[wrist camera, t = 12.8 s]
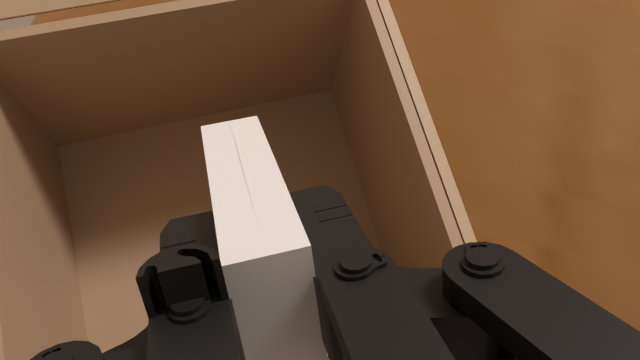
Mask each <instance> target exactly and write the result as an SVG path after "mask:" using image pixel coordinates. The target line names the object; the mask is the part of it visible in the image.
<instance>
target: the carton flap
mask: <svg viewBox="0 0 640 360" xmlns="http://www.w3.org/2000/svg"><path fill="white" fill-rule="evenodd" d="M114 1H120V0H0V20H6V19H12V18H17V17H24V16H30V15H36V14H42V13H48V12H54V11H60V10H66V9H72V8H78V7H84V6H90V5H96V4H102V3H108V2H114Z"/></svg>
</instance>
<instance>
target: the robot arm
mask: <svg viewBox="0 0 640 360" xmlns="http://www.w3.org/2000/svg"><path fill="white" fill-rule="evenodd" d="M201 132H202V139H203V146H204V153H205V160H206V167H207V174H208V180H209V187H210V194H211V201H212V208H213V211H208V212H203V213H199V214H194V215H189V216H185V217H180V218H176V219H171V220H169V222H168V223H167V224H166V226H165V227H164V229H163V230H162V232H161V233H160V251H159V253H157V254H156V255H154V256H152V257H150V258H149V259H148V260H147V261H146V262H145V263H144V264H143V265H142V266H141V267H140V268H139V270H138V272H137V275H136V277H135V279H136V282H137V285H138V288H139V291H140V294H141V297H142V300H143V303H144V306H145V309H146V312H147V316H148V319H149V320H148V326H147V327H146V328H145V329H144V330H142V331H141V332H140V333H139V334H137V335H136V336H135V337H133V338H131V339H130V340H128V341H126V342H124V343H122V344H120V345H118V346H116V347H114V348H112V349H110V350H108V351H106V352H103V353H102V352H101V350H100V348H99V346H97V345H95V344H93V343H91V342H89V341H77V340H74V341H69V342H65V343H60V344H57V345H54V346H52V347H50V348H48V349H46V350H43V351H41V352H39V353H38V354H37V355H35V356H34V357H33V358H31V359H30V360H328V358H327V354H328V357H329V360H640V332H639V331H638V330H636V329H635V328H633V327H632V326H630V325H628V324H627V323H625V322H624V321H622V320H621V319H619V318H617V317H616V316H614V315H613V314H611V313H610V312H608V311H607V310H605V309H603V308H602V307H600V306H599V305H597V304H596V303H594V302H592V301H591V300H589V299H588V298H586V297H585V296H583V295H582V294H580V293H578V292H577V291H575V290H574V289H572V288H571V287H569V286H567V285H566V284H564V283H563V282H561V281H560V280H558V279H557V278H555V277H553V276H552V275H550V274H549V273H547V272H546V271H544V270H542V269H541V268H539V267H538V266H536V265H535V264H533V263H532V262H530V261H528V260H527V259H525V258H524V257H522V256H521V255H519V254H518V253H516V252H514V251H513V250H511V249H508V248H506V247H504V246H502V245H499V244H493V243H488V242H469V243H466V244H462V245H458V246H456V247H454V248H453V249H451V250H450V251H448V252H447V253H446V255H445V256H444V258H443V260H442V268H406V267H401V266H397V265H396V264H395V262H394V260H393V259H392V258H391V257H390V256H389V255H388V254H387V253H386V252H383V251H381V250H378V249H376V248H373V247H372V245H371V244H370V242H369V240H368V238H367V237H366V235H365V233H364V232H363V230H362V228H361V227H360V225H359V223H358V222H357V220H356V218H355V217H354V216H353V213H352V211H351V210H350V208H349V207H348V205H347V203H346V201H345V200H344V198H343V196H342V195H341V193H340V192H338V191H336V190H334V189H333V188H331V187H329V186H327V185H321V186H317V187H312V188H307V189H303V190H298V191H293V192H289V191H288V189H287V186H286V184H285V182H284V179H283V177H282V174H281V172H280V170H279V167H278V165H277V162H276V160H275V158H274V155H273V153H272V150H271V148H270V146H269V143H268V141H267V138H266V136H265V134H264V131H263V129H262V126H261V124H260V122H259V119H258V117H257V116H252V117H247V118H242V119H236V120H231V121H226V122H221V123H215V124H210V125H205V126H201Z"/></svg>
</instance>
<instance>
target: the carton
mask: <svg viewBox="0 0 640 360" xmlns="http://www.w3.org/2000/svg"><path fill="white" fill-rule="evenodd" d="M252 116H257V117H258V119H259V122H260V124H261V126H262V129H263V131H264V134H265V136H266V138H267V141H268V143H269V146H270V148H271V150H272V153H273V155H274V158H275V160H276V162H277V165H278V167H279V170H280V172H281V174H282V177H283V179H284V182H285V184H286V186H287V189H288V191H289V192H293V191H298V190H303V189H307V188H312V187H317V186H321V185H327V186H329V187H331V188H333V189H334V190H336V191H338V192H340V193H341V195H342V196H343V198H344V200H345V201H346V203H347V205H348V207H349V208H350V210H351V211H352V213H353V216H354V217H355V218H356V220H357V222H358V223H359V225H360V227H361V228H362V230H363V232H364V233H365V235H366V237H367V238H368V240H369V242H370V244H371V245H372V247H373V248H376V249H378V250H381V251H383V252H386V253H387V254H388V255H389V256H390V257H391V258H392V259H393V260H394V262H395V264H396V265H397V266H401V267H406V268H442V260H443V258H444V256H445V255H446V253H447V252H448V251H450V250H451V249H453V248H454V247H456V246H458V245H462V244H466V243H469V242H477V241H476V238H475V235H474V233H473V230H472V227H471V224H470V222H469V219H468V216H467V214H466V211H465V208H464V205H463V203H462V200H461V197H460V194H459V192H458V189H457V186H456V183H455V181H454V178H453V175H452V173H451V170H450V167H449V164H448V162H447V159H446V156H445V153H444V151H443V148H442V145H441V143H440V140H439V137H438V134H437V132H436V129H435V126H434V123H433V121H432V118H431V115H430V112H429V110H428V107H427V104H426V102H425V99H424V96H423V93H422V91H421V88H420V85H419V82H418V80H417V77H416V74H415V72H414V69H413V66H412V63H411V61H410V58H409V55H408V52H407V50H406V47H405V44H404V41H403V39H402V36H401V33H400V31H399V28H398V25H397V22H396V20H395V17H394V14H393V11H392V9H391V6H390V3H389V1H388V0H178V1H172V2H167V3H161V4H155V5H149V6H143V7H137V8H131V9H125V10H119V11H113V12H107V13H101V14H95V15H90V16H84V17H78V18H72V19H66V20H60V21H54V22H48V23H42V24H36V25H30V26H24V27H19V28H13V29H7V30H1V31H0V360H30V359H31V358H33V357H34V356H35V355H37V354H38V353H39V352H41V351H43V350H46V349H48V348H50V347H52V346H54V345H57V344H60V343H65V342H69V341H74V340H77V341H89V342H91V343H93V344H95V345H97V346H99V348H100V350H101V352H102V353H103V352H106V351H108V350H110V349H112V348H114V347H116V346H118V345H120V344H122V343H124V342H126V341H128V340H130V339H131V338H133V337H135V336H136V335H137V334H139V333H140V332H141V331H142V330H144V329H145V328H146V327H147V326H148V320H149V319H148V316H147V312H146V309H145V306H144V303H143V300H142V297H141V294H140V291H139V288H138V285H137V282H136V279H135V277H136V275H137V272H138V270H139V268H140V267H141V266H142V265H143V264H144V263H145V262H146V261H147V260H148V259H149V258H150V257H152V256H154V255H156V254H157V253H159V251H160V233H161V232H162V230H163V229H164V227H165V226H166V224H167V223H168V222H169V220H171V219H176V218H180V217H185V216H189V215H194V214H199V213H203V212H208V211H213V208H212V201H211V194H210V187H209V180H208V174H207V167H206V160H205V153H204V146H203V139H202V132H201V126H205V125H210V124H215V123H221V122H226V121H231V120H236V119H242V118H247V117H252ZM327 357H328V354H327ZM328 360H329V358H328Z"/></svg>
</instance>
